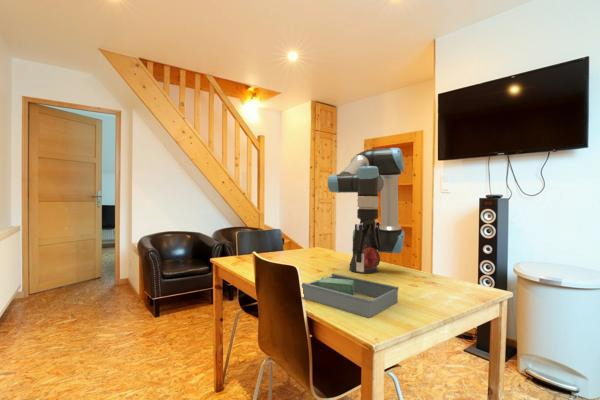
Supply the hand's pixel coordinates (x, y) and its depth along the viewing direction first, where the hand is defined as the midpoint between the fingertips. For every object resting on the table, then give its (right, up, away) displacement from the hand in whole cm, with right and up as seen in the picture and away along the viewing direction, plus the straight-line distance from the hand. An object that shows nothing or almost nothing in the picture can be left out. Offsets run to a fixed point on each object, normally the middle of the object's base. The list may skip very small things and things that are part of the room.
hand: (367, 268), depth 115 cm
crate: (-6, -13, +6) cm, 16 cm away
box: (-11, -14, +7) cm, 18 cm away
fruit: (0, 0, 0) cm, 0 cm away
